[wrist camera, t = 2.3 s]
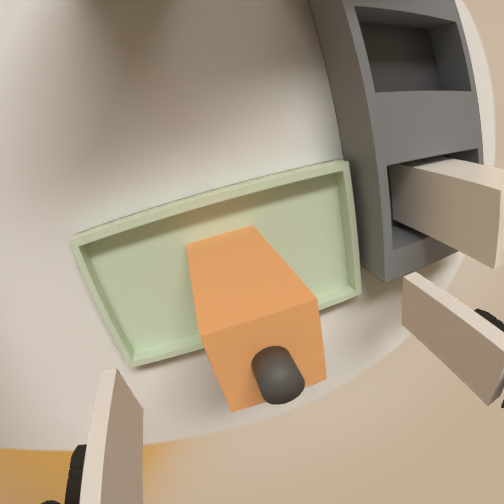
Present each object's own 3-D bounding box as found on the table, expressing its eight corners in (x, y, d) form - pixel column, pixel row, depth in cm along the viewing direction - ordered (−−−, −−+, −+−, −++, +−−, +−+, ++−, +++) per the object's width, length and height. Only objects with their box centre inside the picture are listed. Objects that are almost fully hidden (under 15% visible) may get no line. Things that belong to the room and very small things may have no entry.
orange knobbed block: (204, 302, 22) (239, 439, 11) (185, 244, 20) (205, 365, 9) (265, 283, 22) (341, 403, 12) (252, 224, 21) (336, 321, 10)
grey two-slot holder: (356, 261, 24) (385, 283, 20) (307, -3, 16) (333, -25, 12) (451, 226, 25) (482, 239, 22) (421, 8, 18) (453, -2, 14)
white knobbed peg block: (393, 219, 23) (514, 281, 12) (388, 162, 21) (525, 198, 10) (432, 206, 23) (547, 255, 13) (429, 154, 21) (554, 184, 11)
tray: (130, 355, 22) (129, 368, 21) (75, 234, 18) (68, 241, 17) (352, 285, 25) (361, 294, 23) (337, 159, 21) (348, 161, 19)
